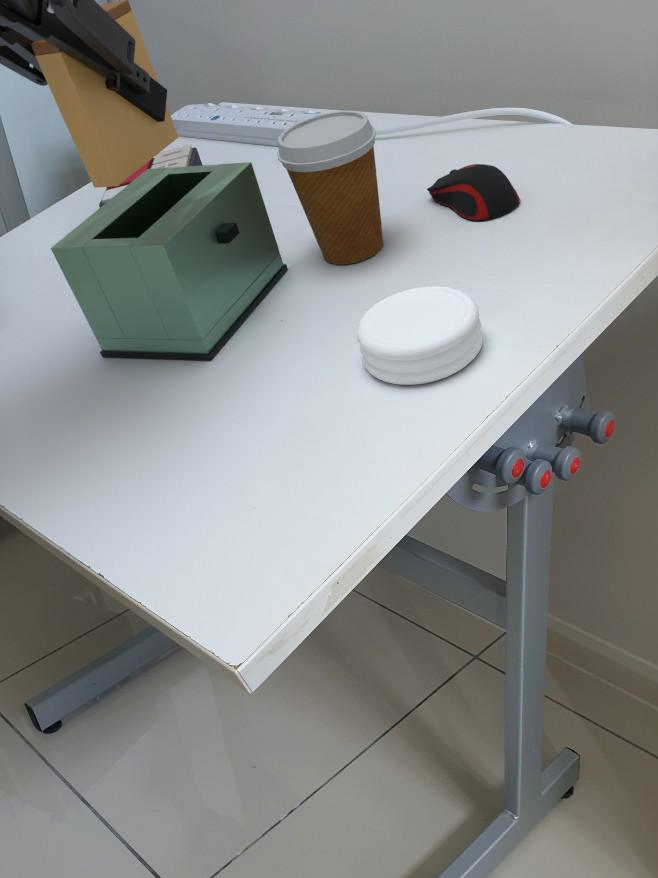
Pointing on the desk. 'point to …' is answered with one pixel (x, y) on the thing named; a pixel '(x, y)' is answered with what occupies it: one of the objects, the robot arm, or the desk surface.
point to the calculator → (162, 160)
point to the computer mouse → (476, 192)
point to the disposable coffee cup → (336, 182)
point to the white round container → (420, 335)
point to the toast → (105, 109)
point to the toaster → (173, 262)
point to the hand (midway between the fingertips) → (147, 107)
